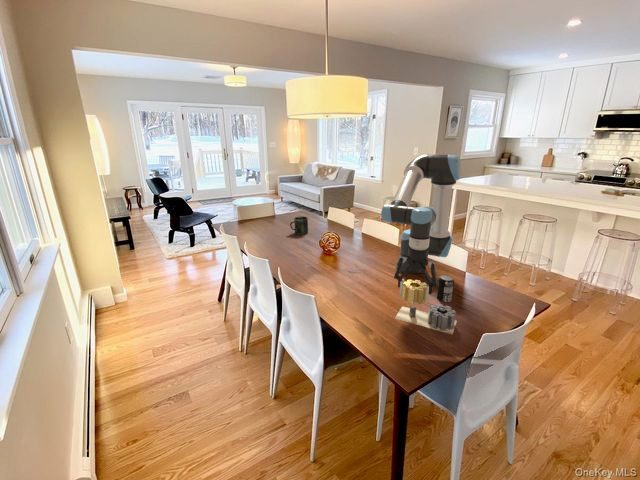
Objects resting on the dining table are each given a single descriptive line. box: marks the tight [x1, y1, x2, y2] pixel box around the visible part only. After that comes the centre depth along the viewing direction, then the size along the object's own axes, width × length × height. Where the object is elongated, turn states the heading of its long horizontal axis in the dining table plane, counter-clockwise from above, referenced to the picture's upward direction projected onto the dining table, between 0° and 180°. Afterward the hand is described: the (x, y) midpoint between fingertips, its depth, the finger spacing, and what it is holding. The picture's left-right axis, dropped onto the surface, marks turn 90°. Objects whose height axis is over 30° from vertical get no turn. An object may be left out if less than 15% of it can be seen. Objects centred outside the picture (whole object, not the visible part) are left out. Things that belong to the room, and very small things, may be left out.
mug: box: [289, 215, 309, 235], centre depth 248 cm, size 11×15×12 cm
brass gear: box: [400, 279, 428, 305], centre depth 131 cm, size 10×10×6 cm
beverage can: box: [436, 274, 455, 303], centre depth 147 cm, size 7×7×12 cm
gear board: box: [394, 305, 458, 335], centre depth 132 cm, size 11×23×5 cm, turn 60°
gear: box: [427, 303, 457, 332], centre depth 129 cm, size 10×10×7 cm
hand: (413, 297), depth 132 cm, fingers closed on brass gear, 10 cm apart
